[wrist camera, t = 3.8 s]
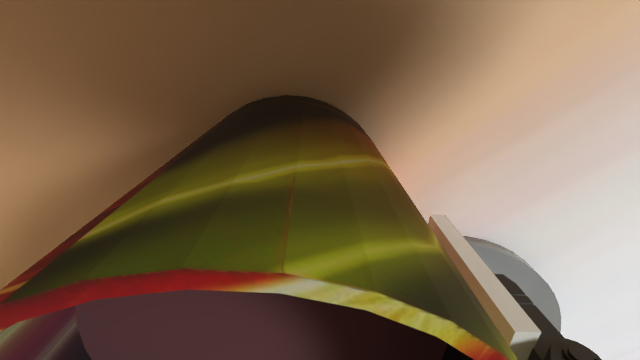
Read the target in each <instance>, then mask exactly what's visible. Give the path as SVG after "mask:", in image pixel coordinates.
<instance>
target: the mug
mask: <svg viewBox="0 0 640 360" xmlns="http://www.w3.org/2000/svg"><path fill="white" fill-rule="evenodd" d="M0 360H518V359H517V357H516V356H515V354H514V353H513V351H512V350H511V348H510V347H509V345H508V344H507V342H506V341H505V339H504V338H503V336H502V335H501V333H500V332H499V330H498V329H497V327H496V326H495V324H494V323H493V321H492V320H491V318H490V317H489V315H488V314H487V312H486V311H485V309H484V308H483V306H482V305H481V303H480V302H479V300H478V299H477V297H476V296H475V294H474V293H473V291H472V290H471V288H470V287H469V285H468V284H467V282H466V281H465V279H464V278H463V277H462V275H461V274H460V272H459V271H458V269H457V268H456V266H455V265H454V263H453V262H452V260H451V259H450V257H449V256H448V254H447V253H446V251H445V250H444V248H443V247H442V245H441V244H440V242H439V241H438V239H437V238H436V236H435V235H434V233H433V232H432V230H431V229H430V227H429V226H428V224H427V223H426V221H425V220H424V218H423V217H422V215H421V214H420V212H419V211H418V209H417V208H416V206H415V205H414V203H413V202H412V200H411V199H410V197H409V196H408V194H407V193H406V191H405V190H404V188H403V187H402V185H401V184H400V182H399V181H398V179H397V178H396V176H395V175H394V173H393V172H392V170H391V169H390V167H389V166H388V164H387V163H386V161H385V160H384V158H383V157H382V155H381V154H380V152H379V151H378V149H377V148H376V146H375V145H374V143H373V142H372V140H371V139H370V138H369V136H368V135H367V134H366V133H365V131H364V130H363V129H362V128H361V126H360V125H359V124H358V123H357V122H355V121H354V120H353V119H352V118H351V117H349V116H348V115H347V114H346V113H344V112H343V111H341V110H339V109H337V108H335V107H333V106H331V105H330V104H328V103H326V102H322V101H319V100H315V99H312V98H308V97H300V96H287V95H284V96H277V97H269V98H264V99H261V100H258V101H255V102H252V103H249V104H246V105H245V106H243V107H241V108H240V109H238V110H236V111H235V112H233V113H231V114H230V115H228V116H227V117H226V118H225V119H223V120H222V121H221V122H219V123H218V124H217V125H215V126H214V127H213V128H211V129H210V130H209V131H208V132H206V133H205V134H204V135H202V136H201V137H200V138H198V139H197V140H196V141H195V142H193V143H192V144H191V145H189V146H188V147H187V148H185V149H184V150H183V151H182V152H180V153H179V154H178V155H176V156H175V157H174V158H172V159H171V160H170V161H168V162H167V163H166V164H165V165H163V166H162V167H161V168H159V169H158V170H157V171H155V172H154V173H153V174H152V175H150V176H149V177H148V178H146V179H145V180H144V181H142V182H141V183H140V184H138V185H137V186H136V187H135V188H133V189H132V190H131V191H129V192H128V193H127V194H125V195H124V196H123V197H122V198H120V199H119V200H118V201H116V202H115V203H114V204H112V205H111V206H110V207H108V208H107V209H106V210H105V211H103V212H102V213H101V214H99V215H98V216H97V217H95V218H94V219H93V220H92V221H90V222H89V223H88V224H86V225H85V226H84V227H82V228H81V229H80V230H79V231H77V232H76V233H75V234H73V235H72V236H71V237H69V238H68V239H67V240H65V241H64V242H63V243H62V244H60V245H59V246H58V247H56V248H55V249H54V250H52V251H51V252H50V253H49V254H47V255H46V256H45V257H43V258H42V259H41V260H39V261H38V262H37V263H35V264H34V265H33V266H32V267H30V268H29V269H28V270H26V271H25V272H24V273H22V274H21V275H20V276H19V277H17V278H16V279H15V280H13V281H12V282H11V283H9V284H8V285H7V286H5V287H4V288H3V289H2V290H0Z"/></svg>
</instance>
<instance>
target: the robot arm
mask: <svg viewBox="0 0 640 360" xmlns="http://www.w3.org/2000/svg"><path fill="white" fill-rule="evenodd" d="M428 226H429V227H430V229H431V230H432V232H433V233H434V235H435V236H436V238H437V239H438V241H439V242H440V244H441V245H442V247H443V248H444V250H445V251H446V253H447V254H448V256H449V257H450V259H451V260H452V262H453V263H454V265H455V266H456V268H457V269H458V271H459V272H460V274H461V275H462V277H463V278H464V279H465V281H466V282H467V284H468V285H469V287H470V288H471V290H472V291H473V293H474V294H475V296H476V297H477V299H478V300H479V302H480V303H481V305H482V306H483V308H484V309H485V311H486V312H487V314H488V315H489V317H490V318H491V320H492V321H493V323H494V324H495V326H496V327H497V329H498V330H499V332H500V333H501V335H502V336H503V338H504V339H505V341H506V342H507V344H508V345H509V347H510V348H511V350H512V351H513V353H514V354H515V356H516V357H517V359H518V360H601V359H600V357H599V356H598V355H597V354H595V353H594V352H593V351H591V350H590V349H589V348H587V347H585V346H584V345H582V344H580V343H578V342H575V341H572V340H569V339H565V338H564V337H563V336H562V335H561V334H560V332H559V331H558V330H557V329H556V328H555V327H554V326H553V325H552V323H551V322H550V321H549V320H548V319H547V318H546V317H545V315H544V314H543V313H542V312H541V311H540V310H539V309H538V308H537V306H536V305H534V304H533V302H532V301H531V300H530V299H529V297H528V296H526V294H525V293H524V292H523V291H522V289H521V288H520V287H519V286H518V285H517V284H516V283H515V282H513V281H512V280H511V279H509V278H508V277H506V276H505V275H503V274H493V272H492V271H491V270H490V269H489V268H488V266H487V265H486V264H485V263H484V262H483V260H482V259H481V258H480V257H479V255H478V254H477V253H476V252H475V251H474V249H473V248H472V247H471V246H470V244H469V243H468V242H467V241H466V240H465V238H464V237H463V236H462V235H461V234H460V232H459V231H458V230H457V229H456V227H455V226H454V225H453V224H452V223H451V221H450V220H449V219H448V218H447V216H446V215H430V218H429V223H428Z"/></svg>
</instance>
